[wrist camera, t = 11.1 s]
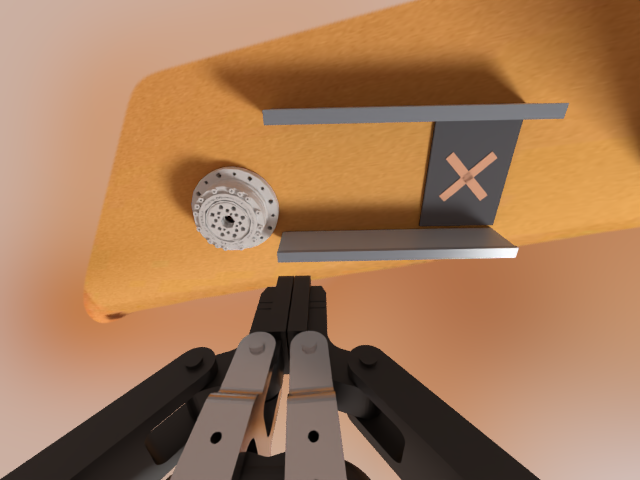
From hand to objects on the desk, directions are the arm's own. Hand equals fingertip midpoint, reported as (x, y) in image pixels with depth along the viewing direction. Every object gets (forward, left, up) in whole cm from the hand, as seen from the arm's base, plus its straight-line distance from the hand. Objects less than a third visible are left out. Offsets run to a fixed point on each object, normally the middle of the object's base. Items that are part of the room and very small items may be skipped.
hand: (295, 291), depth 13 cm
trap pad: (-18, 0, -21) cm, 28 cm away
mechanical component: (+9, +3, -21) cm, 23 cm away
